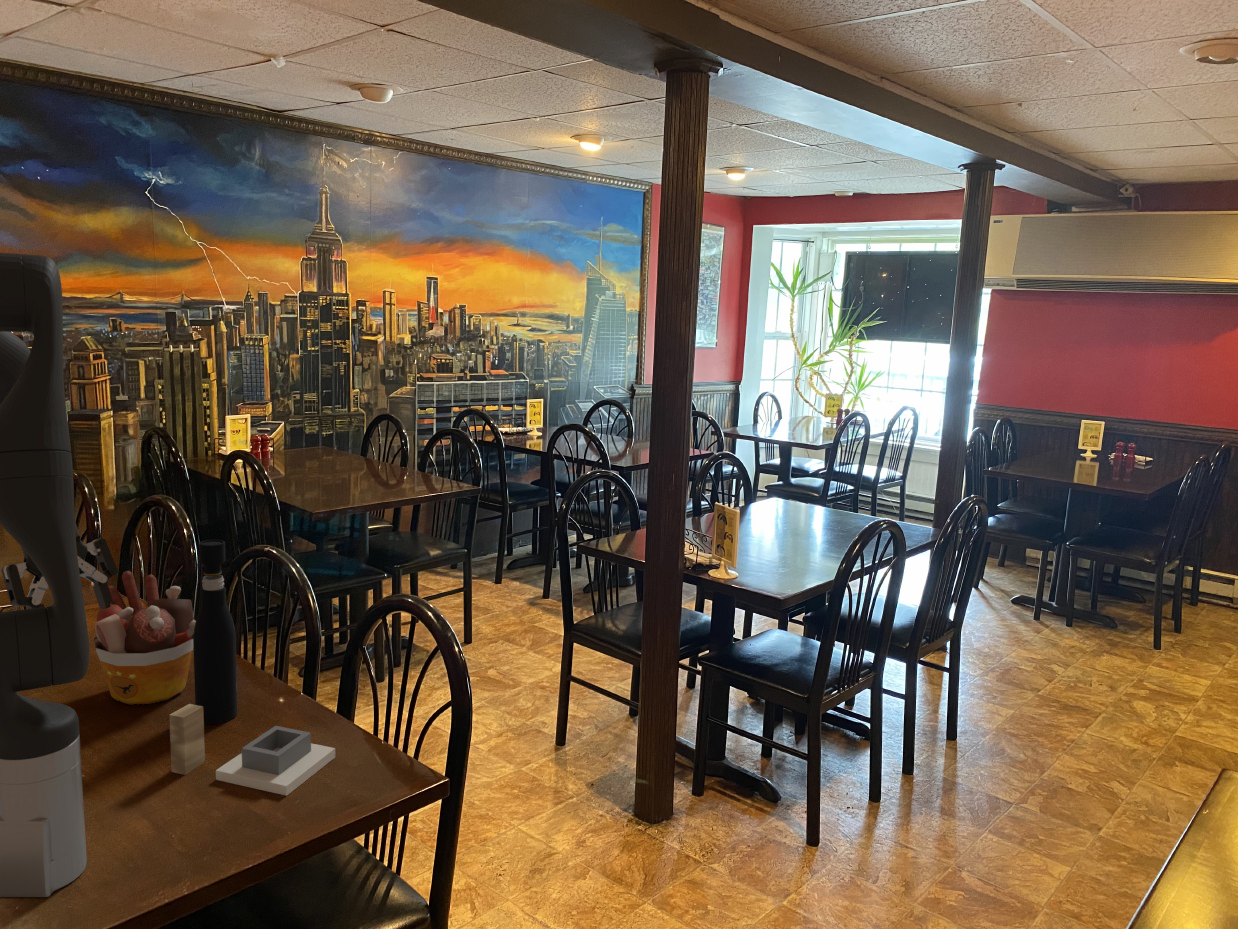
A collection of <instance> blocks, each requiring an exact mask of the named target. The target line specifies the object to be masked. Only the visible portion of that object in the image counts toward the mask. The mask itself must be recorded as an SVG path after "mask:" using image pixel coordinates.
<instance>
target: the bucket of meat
mask: <svg viewBox="0 0 1238 929" xmlns="http://www.w3.org/2000/svg"><path fill="white" fill-rule="evenodd" d="M134 577H135V576H134V574H133V572H131V571H130V570H126V571H123V572H122V575H121V580H122V584H123V588H124V590H125V594H126V599H127V601H128V604H129V606H126V604H125V602H124V599H123V597H122V595H121V594H120V591H119V590H118V588H117V587H116V586H114V585H108V587H109V590H110V593H111V596H112V603H110V607H109V608H106V609H100V608H99V610H98V612H97V614H96V615H97V616H96V619H95V620H96V622H95V623H94V630H95V635H96V636H95V637H94V638H93V640H94V641H93V642H94V647H95V651H96V655H97V656H98V659H99V662H100V666H101V668H102V672H103V675H104V678H105V681H106V684H107V687H108V690H109V693H110V696H111V698H112V699H114V700H116V702H119V701H120V703H122V704H126V705H129V706H130V705H131V706H135V705H134V704H137V705H138V704H143V705H144V704H148V705H152V703H153V704H157V703H161V702H165V701H168V700H169V699H172V698H173V697H175V696H177V695H179V694H180V693H181V692H182V691H184V689H185V688H186V686H187V685H186V684H187V681H188V676H189V671H190V666H191V660H192V656H193V653H194V649H193V634H194V628H195V623H196V619H195V617H194V616H195V615H194V610H193V604H192V600H191V599H187V598H185V599H184V598H183V599H182V598H178V597H179V595H180V593H181V591H182V589H181V587H180V586H177V585H172V586H170V587H169V588H168V589H166V590H165V592H164V593H165V595H166V596H167V598H160V595H159V589H158V580H157V577H155V575H153V574H148V575H146V576H145V578H144V587H145V594H146V601H147V602H146V603H147V607H144V608H143V605H142V602H141V598H140V594H139V592H138V588H137V585H136V580H135V578H134ZM160 701H161V702H160ZM156 702H157V703H156ZM137 705H136V706H137ZM143 705H142V706H143ZM138 706H139V705H138Z"/></svg>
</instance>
